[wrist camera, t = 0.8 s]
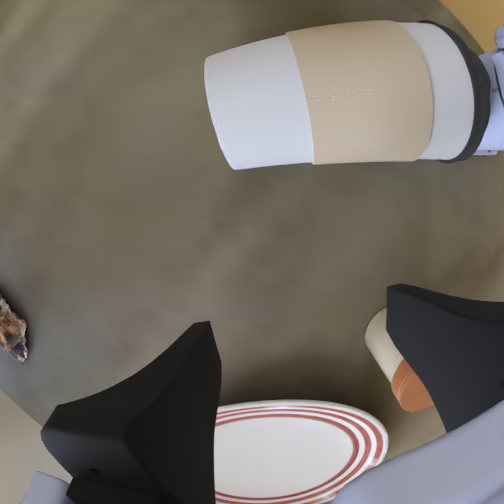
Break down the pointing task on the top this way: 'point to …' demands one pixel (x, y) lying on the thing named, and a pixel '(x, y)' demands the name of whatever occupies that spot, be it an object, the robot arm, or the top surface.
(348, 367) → the top surface
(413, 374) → the lid
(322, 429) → the dinner plate
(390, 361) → the jar
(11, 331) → the plant with pod
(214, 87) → the coffee cup
